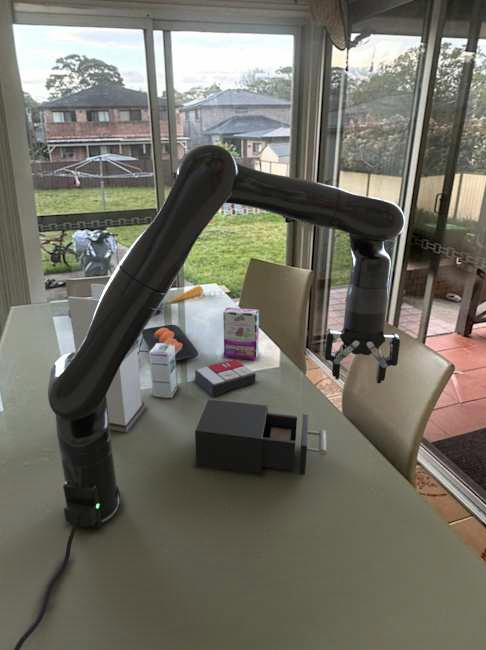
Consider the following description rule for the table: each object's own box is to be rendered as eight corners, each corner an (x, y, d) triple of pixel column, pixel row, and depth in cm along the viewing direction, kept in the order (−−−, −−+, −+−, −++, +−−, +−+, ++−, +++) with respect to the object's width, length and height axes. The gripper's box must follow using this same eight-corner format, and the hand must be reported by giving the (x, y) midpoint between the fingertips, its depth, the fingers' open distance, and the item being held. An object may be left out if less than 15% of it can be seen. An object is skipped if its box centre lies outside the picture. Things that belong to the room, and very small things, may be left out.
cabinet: (267, 438, 108) (268, 405, 104) (260, 475, 96) (261, 438, 93) (208, 432, 110) (208, 399, 107) (196, 466, 99) (194, 430, 95)
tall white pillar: (144, 408, 120) (133, 287, 107) (126, 432, 111) (112, 301, 98) (107, 402, 123) (92, 283, 110) (86, 425, 114) (67, 297, 101)
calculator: (256, 371, 131) (213, 383, 123) (255, 384, 133) (213, 397, 125) (236, 357, 140) (194, 367, 132) (235, 369, 141) (194, 380, 134)
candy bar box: (258, 353, 150) (259, 309, 144) (256, 360, 146) (257, 314, 140) (226, 350, 153) (226, 306, 147) (223, 357, 148) (223, 311, 142)
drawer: (324, 444, 104) (327, 416, 101) (325, 478, 94) (328, 448, 91) (250, 435, 108) (250, 408, 105) (242, 467, 97) (243, 438, 94)
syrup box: (172, 398, 125) (169, 352, 119) (152, 396, 126) (148, 351, 121) (177, 388, 130) (175, 343, 125) (158, 386, 131) (155, 342, 126)
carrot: (200, 294, 210) (197, 285, 210) (205, 293, 206) (202, 284, 206) (165, 308, 199) (162, 298, 198) (170, 307, 195) (167, 297, 195)
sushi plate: (201, 360, 146) (200, 350, 145) (109, 377, 136) (108, 367, 134) (176, 328, 171) (176, 319, 170) (97, 340, 161) (96, 331, 160)
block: (268, 455, 99) (288, 458, 98) (269, 439, 97) (289, 441, 96) (270, 443, 103) (290, 445, 102) (271, 427, 101) (291, 429, 101)
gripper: (328, 310, 82) (322, 385, 88) (409, 315, 80) (397, 392, 86) (327, 296, 89) (321, 368, 95) (401, 300, 87) (391, 373, 92)
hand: (357, 379), depth 90 cm, fingers open, 7 cm apart
